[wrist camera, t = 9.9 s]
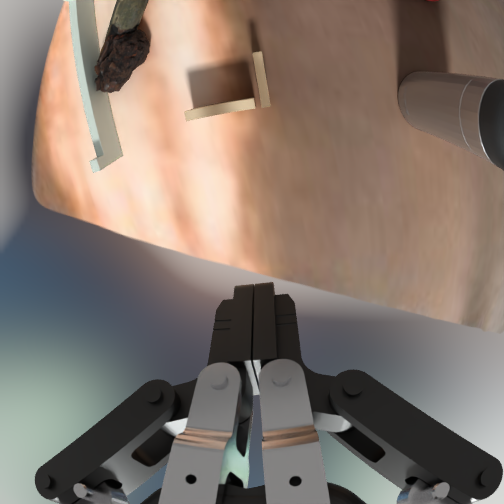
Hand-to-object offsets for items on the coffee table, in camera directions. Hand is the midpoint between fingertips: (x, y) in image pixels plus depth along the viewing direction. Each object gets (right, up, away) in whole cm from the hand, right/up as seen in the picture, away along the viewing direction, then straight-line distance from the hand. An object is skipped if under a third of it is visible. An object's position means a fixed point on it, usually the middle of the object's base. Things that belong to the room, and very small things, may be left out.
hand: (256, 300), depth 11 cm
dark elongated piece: (-16, +31, +15) cm, 38 cm away
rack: (-22, +27, +17) cm, 39 cm away
